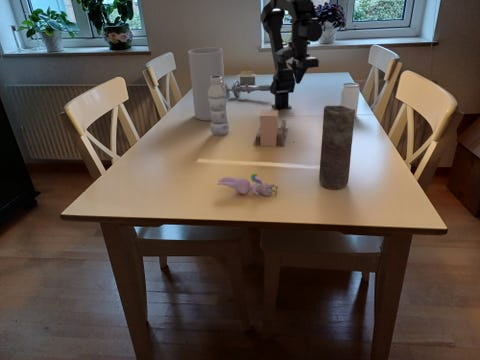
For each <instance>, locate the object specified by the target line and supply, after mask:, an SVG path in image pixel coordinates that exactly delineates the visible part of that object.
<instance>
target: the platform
mask: <svg viewBox="0 0 480 360" xmlns="http://www.w3.org/2000/svg"><path fill="white" fill-rule="evenodd" d="M237 77H239V83H240V85H245V84H248V85H255V84H256V78H257V77H258V75H257V74H256V73H254V71H245V70H244V71H241V72H240V73H239V74H237Z"/></svg>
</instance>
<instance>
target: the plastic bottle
mask: <svg viewBox="0 0 480 360" xmlns="http://www.w3.org/2000/svg"><path fill="white" fill-rule="evenodd" d="M210 82H211V86H210V88H209V90H208V99H209V103H210V109H211V121H210V125H209V127H210V132H211V134H212V136H217V137H221V136H226V135H228V134H229V131H230V126H229V125H230V124H229V121H228V116H227V97H228V96H227V92H226V89H225V88H224V86H223V85H222V84H221V83H222V77H221V76H211V81H210Z"/></svg>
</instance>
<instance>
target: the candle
mask: <svg viewBox="0 0 480 360" xmlns="http://www.w3.org/2000/svg"><path fill="white" fill-rule="evenodd" d="M355 119H356V117H355V110H354V109H349V108H346V107H344V106H340V105H326V106H324V108H323V118H322V132H321V133H322V134H321V145H320V146H321V147H320V159H319V174H318V177H319V178H318V180H319V183H320V184H321V185H322V187H324V189H328V190H329V189H330V190H338V189H341V188H343V187H344V186H347V185H348V184H349V180H350V179H349V177H350V168H351V167H350V166H351V159H352V158H351V155H352V148H353V147H352V144H353V138H354V137H353V136H354V129H355Z"/></svg>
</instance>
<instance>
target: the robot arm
mask: <svg viewBox="0 0 480 360" xmlns="http://www.w3.org/2000/svg"><path fill="white" fill-rule="evenodd" d="M286 12H287V15H289V16H290V17H291V19H290V20H289V23H290V24H291V40H288V42H287V43H288V44H287V46H286V47H285V46H284V42H283V37H282V32H281V31H282V30H281V29H282V26H283V24H284V18H285V16H286ZM260 22H261V25H262V28H263V30H264V31H265V32H266V33H267V34H268V39H269V44H270V48H271V53H272V60H273V64H274V65H273V66H274V73H273V76H272V82H271V84H270V85H271V86H270V91H269V93H271V94H272V95H274V104H271V107H272V108H274V109H275V110H276V111H281V110H287V109H292V106H291V105H290V104H289V98H290V97H289V96H290V95H289V93H290V94H291V93H294V92H295V91H294V90H295V87H296V84H297V85H300V84H301V83H302V80H303V77H304V76H305V74H306V73H307V71H308V69H312V68H318V67H320V60H319V59H318V58H317V57H314V56H311V54H310V53H308V49H309V48H308V46H309V45H311V42H312V43H313V42H315V43H316V42H317V41H319V40H320V39H321V37H322V36H323V33H324V32H323V31H324V29H323V28H322V25H321V23H319V19H318V13H317V11H316V8H315V4H314V1H313V0H270V1H268V3H266V5H264V6H263V8H262V10H261V13H260ZM287 61H288V62H287ZM288 66H289V67H291V68H289V67H288Z"/></svg>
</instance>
